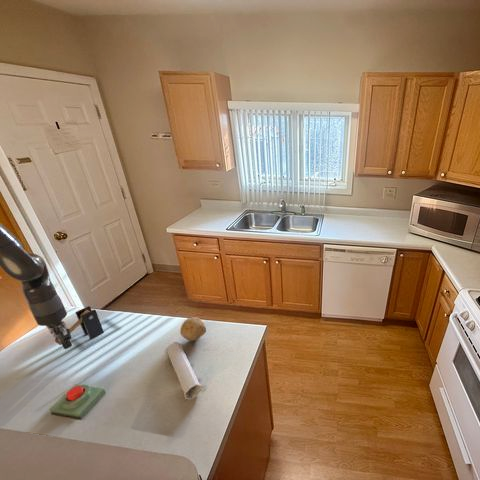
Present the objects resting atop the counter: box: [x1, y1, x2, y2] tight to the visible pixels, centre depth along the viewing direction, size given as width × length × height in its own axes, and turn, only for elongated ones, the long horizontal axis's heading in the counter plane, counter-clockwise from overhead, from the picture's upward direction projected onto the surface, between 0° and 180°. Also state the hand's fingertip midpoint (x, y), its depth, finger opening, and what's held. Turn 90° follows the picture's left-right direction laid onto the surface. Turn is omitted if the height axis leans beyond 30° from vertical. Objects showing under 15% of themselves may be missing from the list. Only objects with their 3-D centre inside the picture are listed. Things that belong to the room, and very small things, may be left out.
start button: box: [65, 386, 84, 401], centre depth 77 cm, size 4×4×2 cm
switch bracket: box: [75, 305, 105, 340], centre depth 100 cm, size 12×10×13 cm
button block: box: [48, 383, 107, 420], centre depth 78 cm, size 10×8×4 cm
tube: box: [166, 341, 203, 401], centre depth 90 cm, size 5×5×25 cm
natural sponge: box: [179, 316, 207, 342], centre depth 103 cm, size 9×9×10 cm
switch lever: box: [54, 310, 90, 345], centre depth 96 cm, size 13×3×3 cm, turn 152°
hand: (65, 345), depth 94 cm, fingers closed on switch lever, 3 cm apart
